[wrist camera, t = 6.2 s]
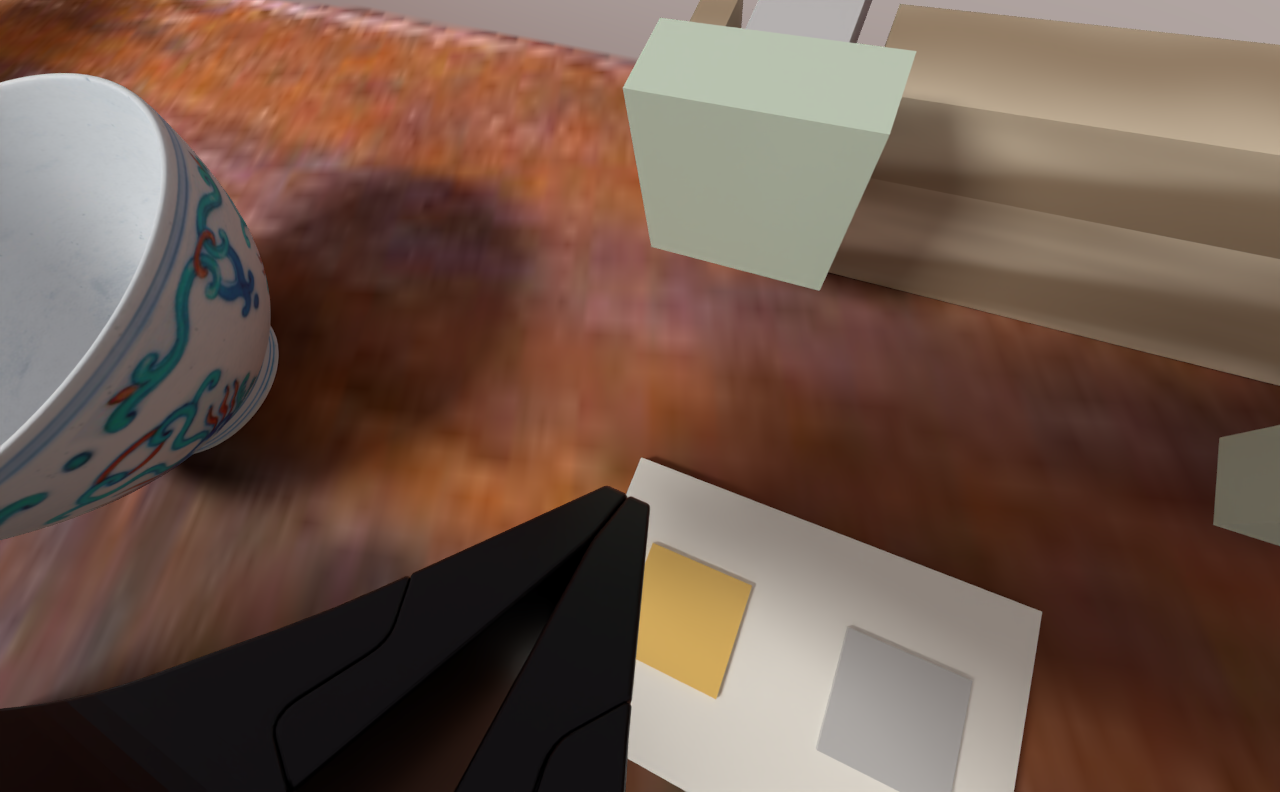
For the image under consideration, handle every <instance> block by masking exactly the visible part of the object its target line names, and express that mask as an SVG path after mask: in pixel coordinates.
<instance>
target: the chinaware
mask: <svg viewBox="0 0 1280 792" xmlns="http://www.w3.org/2000/svg"><path fill="white" fill-rule="evenodd" d="M270 320H271V308H270V296H269V288H268V283H267V278H266V274H265V270H264V266H263V263H262V260H261V257H260V254H259V251H258V249H257V246H256V244H255V242H254V239H253V237H252V235H251V233H250V231H249V229H248V227H247V225H246V223H245V222H244V220H243V218H242V216H241V215H240V213H239V211H238V210H237V208H236V206H235V205H234V203H233V202H232V200H231V199H230V197H229V196H228V194H227V193H226V192H225V190H224V189H223V187H222V186H221V185H220V183H219V182H218V180H217V179H216V178H215V177H214V175H213V174H212V173H211V172H210V170H209V169H208V168H207V167H206V165H205V164H204V163H203V162H202V161H201V159H200V158H199V157H198V156H197V155H196V153H195V152H194V151H193V150H192V149H191V148H190V147H189V146H188V144H187V143H186V142H185V141H184V140H183V139H182V138H181V137H180V136H179V135H178V134H177V133H176V132H175V130H174V129H173V128H172V127H171V126H170V125H169V124H168V123H167V122H166V121H165V120H164V119H163V118H162V117H161V116H160V115H159V114H158V113H157V112H156V111H155V110H154V109H153V108H152V107H151V106H150V105H148V104H147V103H146V102H145V101H144V100H143V99H141V98H140V97H139V96H137V95H136V94H135V93H133V92H132V91H130V90H129V89H127V88H125V87H123V86H121V85H119V84H117V83H115V82H112V81H110V80H107V79H103V78H100V77H96V76H91V75H84V74H74V73H52V74H41V75H33V76H27V77H21V78H16V79H12V80H8V81H4V82H0V540H3V539H7V538H11V537H14V536H18V535H21V534H25V533H28V532H32V531H35V530H39V529H42V528H45V527H48V526H51V525H54V524H57V523H60V522H63V521H66V520H69V519H72V518H75V517H77V516H80V515H82V514H85V513H88V512H90V511H93V510H95V509H97V508H100V507H102V506H104V505H107V504H109V503H111V502H113V501H116V500H118V499H120V498H122V497H124V496H126V495H128V494H130V493H132V492H134V491H136V490H138V489H140V488H142V487H143V486H145V485H147V484H149V483H151V482H152V481H154V480H156V479H157V478H159V477H161V476H162V475H164V474H166V473H167V472H169V471H170V470H172V469H173V468H175V467H176V466H178V465H179V464H181V463H182V462H183V461H185V460H186V459H187V458H189V457H190V456H191V455H193V454H195V453H199V452H202V451H205V450H208V449H210V448H212V447H214V446H216V445H218V444H220V443H222V442H223V441H225V440H227V439H228V438H230V437H231V436H232V435H234V434H235V433H236V432H237V431H239V430H240V429H241V428H242V427H243V426H244V425H245V424H246V423H247V422H248V421H249V420H250V419H251V418H252V417H253V416H254V414H255V413H256V412H257V411H258V409H259V408H260V406H261V405H262V403H263V402H264V400H265V399H266V397H267V395H268V393H269V391H270V389H271V387H272V384H273V382H274V379H275V375H276V372H277V367H278V359H279V350H278V342H277V338H276V335H275V333H274V331H273V329H272V327H271V326H270Z"/></svg>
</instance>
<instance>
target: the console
mask: <svg viewBox="0 0 1280 792" xmlns="http://www.w3.org/2000/svg"><path fill="white" fill-rule="evenodd" d="M742 9H743V0H700V2H699V4H698V6H697V8H696V10H695V12H694V14H693V16H692V18H691V20H690V22H697V23H704V24H712V25H720V26H727V27H735V28H741V23H742ZM885 47H888V48H896V49H904V50H911V51H916V54H915V58H914V61H913V64H912V67H911V70H910V73H909V76H908V79H907V82H906V86H905V89H904V92H903V95H902V98H901V101H900V104H899V107H898V110H897V114H896V117H895V120H894V123H893V126H892V129H891V132H890V135H889V137H888V140H887V142H886V144H885V146H884V149H883V151H882V153H881V155H880V157H879V160H878V162H877V164H876V166H875V169H874V171H873V173H872V175H871V178H870V180H869V182H868V184H867V186H866V189H865V191H864V193H863V195H862V198H861V200H860V202H859V204H858V207H857V209H856V211H855V213H854V215H853V218H852V220H851V222H850V224H849V227H848V229H847V231H846V233H845V235H844V238H843V240H842V242H841V244H840V247H839V249H838V251H837V253H836V256H835V258H834V260H833V262H832V264H831V267H830V269H829V271H828V272H829V273H833V274H837V275H841V276H845V277H849V278H853V279H857V280H861V281H865V282H869V283H873V284H877V285H881V286H885V287H889V288H893V289H897V290H901V291H905V292H909V293H913V294H917V295H921V296H925V297H929V298H933V299H937V300H941V301H945V302H948V303H952V304H956V305H960V306H964V307H968V308H972V309H976V310H980V311H984V312H988V313H992V314H996V315H1000V316H1004V317H1008V318H1012V319H1016V320H1020V321H1024V322H1028V323H1032V324H1036V325H1040V326H1044V327H1048V328H1052V329H1056V330H1060V331H1064V332H1068V333H1072V334H1076V335H1080V336H1084V337H1088V338H1092V339H1096V340H1100V341H1104V342H1108V343H1112V344H1115V345H1119V346H1123V347H1127V348H1131V349H1135V350H1139V351H1143V352H1147V353H1151V354H1155V355H1159V356H1163V357H1167V358H1171V359H1175V360H1179V361H1183V362H1187V363H1191V364H1195V365H1199V366H1203V367H1207V368H1211V369H1215V370H1219V371H1223V372H1227V373H1231V374H1235V375H1239V376H1243V377H1247V378H1251V379H1255V380H1259V381H1263V382H1267V383H1271V384H1275V385H1279V386H1280V45H1275V44H1265V43H1257V42H1247V41H1238V40H1228V39H1219V38H1210V37H1201V36H1192V35H1182V34H1173V33H1163V32H1154V31H1145V30H1136V29H1127V28H1117V27H1108V26H1098V25H1089V24H1080V23H1071V22H1062V21H1052V20H1043V19H1034V18H1025V17H1016V16H1006V15H997V14H987V13H977V12H969V11H960V10H950V9H941V8H932V7H922V6H914V5H904V4H900V6H899V8H898V11H897V14H896V17H895V20H894V22H893V25H892V28H891V31H890V33H889V36H888V39H887V42H886V44H885Z"/></svg>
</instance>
